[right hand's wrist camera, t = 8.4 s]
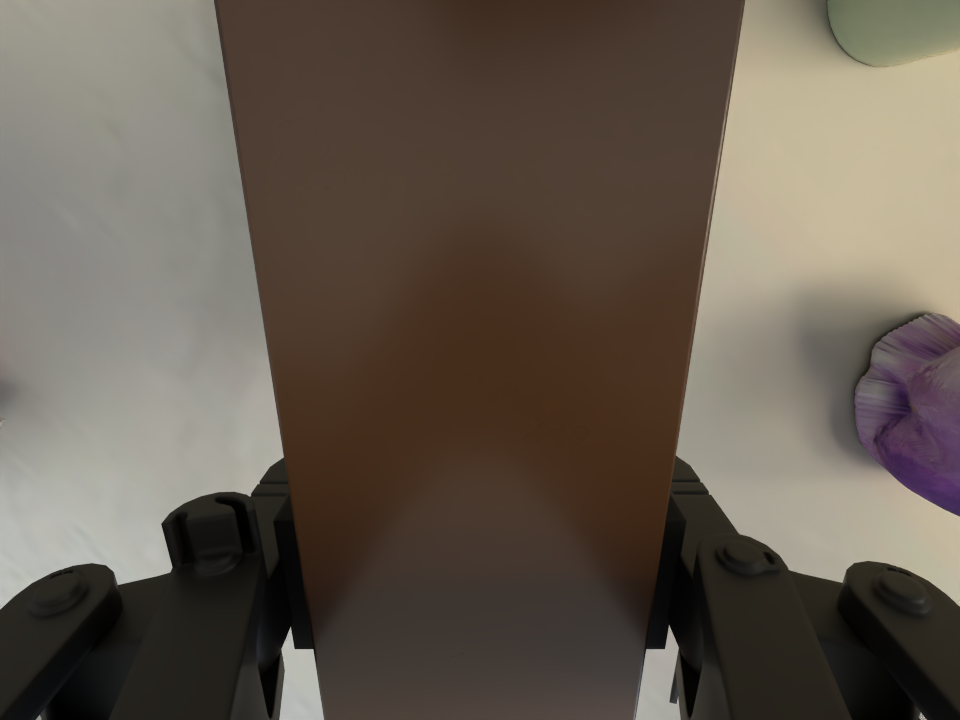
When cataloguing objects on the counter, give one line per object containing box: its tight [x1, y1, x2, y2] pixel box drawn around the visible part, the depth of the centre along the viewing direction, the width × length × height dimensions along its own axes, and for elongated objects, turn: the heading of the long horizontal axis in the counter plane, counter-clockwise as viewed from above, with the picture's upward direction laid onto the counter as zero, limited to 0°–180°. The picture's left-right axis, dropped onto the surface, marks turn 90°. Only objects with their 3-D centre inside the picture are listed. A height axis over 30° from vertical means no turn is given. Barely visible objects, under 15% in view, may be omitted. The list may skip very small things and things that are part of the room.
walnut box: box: [214, 0, 745, 720], centre depth 8 cm, size 24×5×8 cm, turn 0°
